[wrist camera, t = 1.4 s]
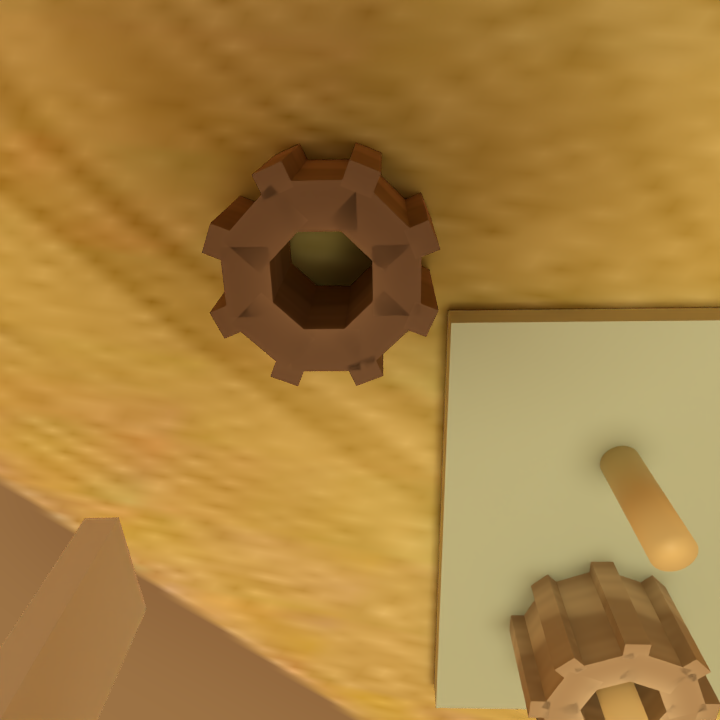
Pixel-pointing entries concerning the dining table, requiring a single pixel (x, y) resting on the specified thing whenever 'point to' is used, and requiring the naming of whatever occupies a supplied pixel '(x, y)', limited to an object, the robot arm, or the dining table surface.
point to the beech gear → (608, 649)
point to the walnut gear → (297, 292)
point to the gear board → (574, 478)
